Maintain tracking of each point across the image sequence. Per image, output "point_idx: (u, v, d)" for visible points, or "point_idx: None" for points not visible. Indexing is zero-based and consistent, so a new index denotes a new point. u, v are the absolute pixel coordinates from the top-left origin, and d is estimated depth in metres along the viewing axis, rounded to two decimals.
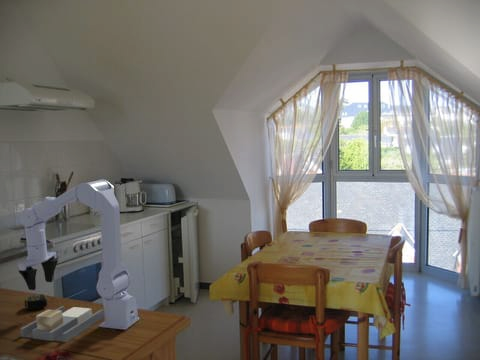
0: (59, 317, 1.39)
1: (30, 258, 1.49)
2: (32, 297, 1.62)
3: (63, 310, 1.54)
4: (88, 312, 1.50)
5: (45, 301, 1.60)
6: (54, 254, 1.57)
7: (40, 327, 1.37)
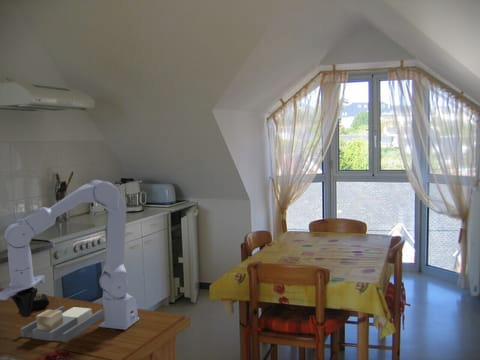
0: (59, 317, 1.39)
1: (13, 284, 1.26)
2: None
3: (63, 310, 1.54)
4: (88, 312, 1.50)
5: (47, 301, 1.61)
6: (42, 278, 1.34)
7: (40, 327, 1.37)
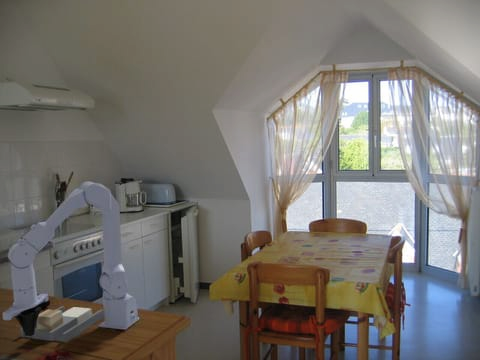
0: (59, 317, 1.39)
1: (17, 304, 1.27)
2: None
3: (63, 310, 1.54)
4: (88, 312, 1.50)
5: (48, 300, 1.61)
6: (45, 297, 1.36)
7: (40, 327, 1.37)
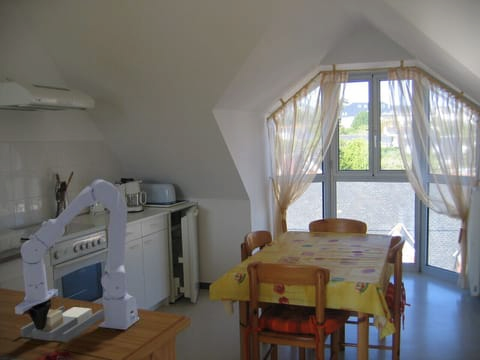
0: (59, 317, 1.39)
1: (28, 299, 1.31)
2: None
3: (63, 310, 1.54)
4: (88, 312, 1.50)
5: (49, 300, 1.61)
6: (55, 292, 1.39)
7: None
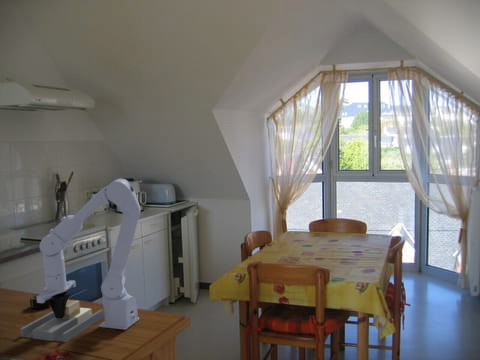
0: (76, 307, 1.46)
1: (49, 289, 1.39)
2: None
3: None
4: (88, 312, 1.50)
5: None
6: (73, 283, 1.47)
7: None
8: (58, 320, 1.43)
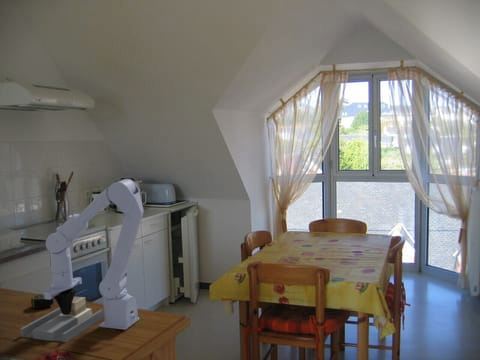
0: (83, 303, 1.49)
1: (55, 285, 1.41)
2: (38, 296, 1.63)
3: None
4: (88, 312, 1.50)
5: (51, 300, 1.61)
6: (79, 280, 1.50)
7: None
8: (58, 320, 1.43)
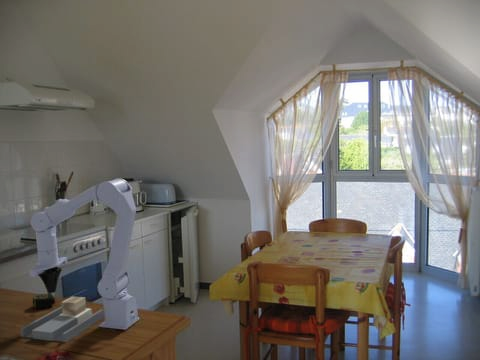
0: (83, 303, 1.49)
1: (41, 264, 1.44)
2: (40, 295, 1.63)
3: None
4: (88, 312, 1.50)
5: (53, 299, 1.61)
6: (65, 259, 1.52)
7: (65, 312, 1.47)
8: (58, 320, 1.43)
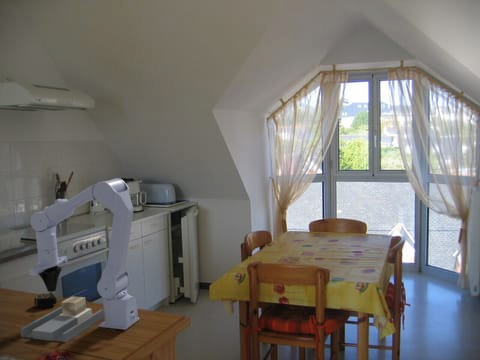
0: (83, 303, 1.49)
1: (41, 263, 1.46)
2: (41, 295, 1.64)
3: None
4: (88, 312, 1.50)
5: (54, 299, 1.62)
6: (65, 258, 1.54)
7: (65, 312, 1.47)
8: (58, 320, 1.43)
